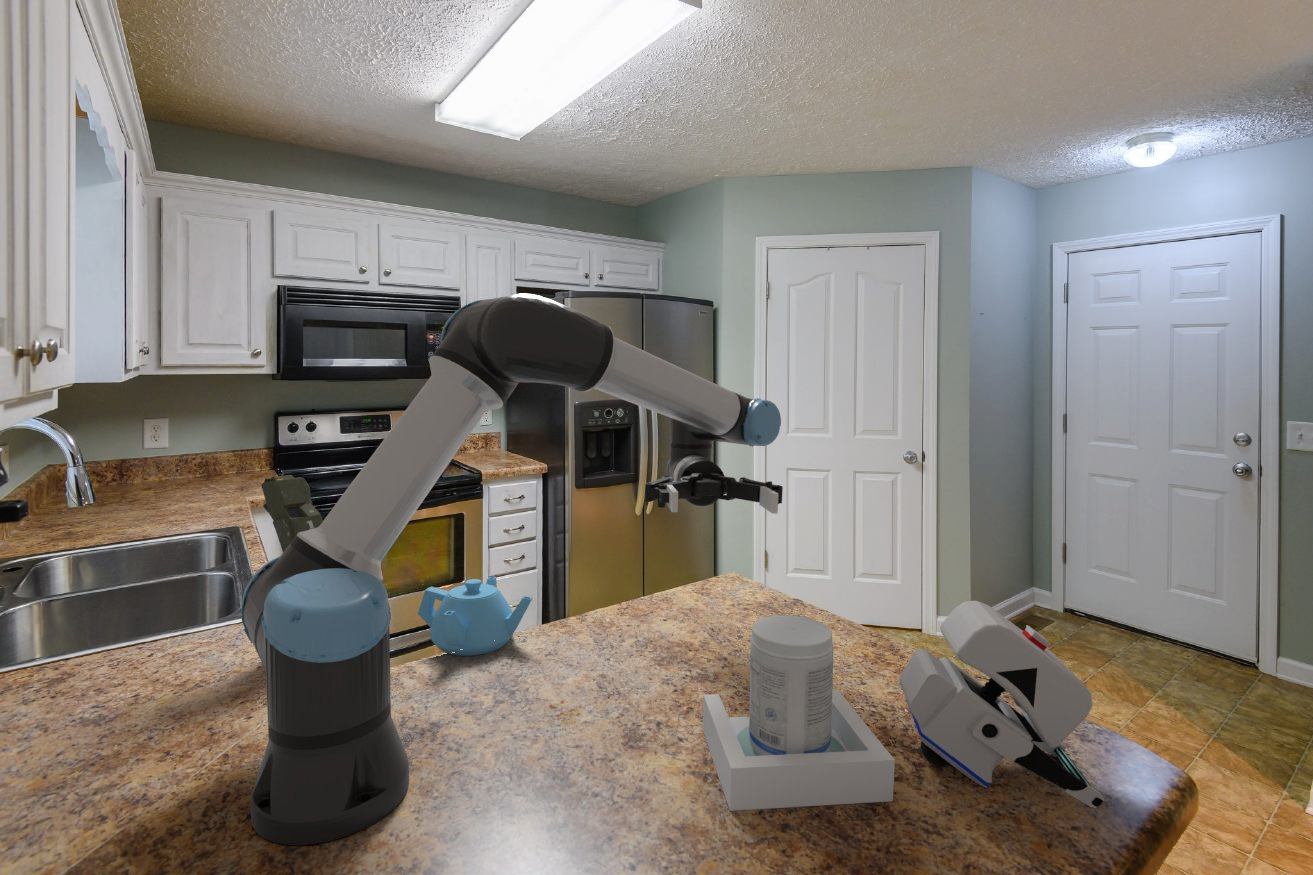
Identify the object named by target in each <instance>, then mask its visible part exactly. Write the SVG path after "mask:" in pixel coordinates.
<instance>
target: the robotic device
mask: <svg viewBox="0 0 1313 875" xmlns="http://www.w3.org/2000/svg"><path fill="white" fill-rule="evenodd" d="M939 630H940V633H941V634H942V637H943V638H944V640H945V641H946V642H947V644H948V646H949V647H950V648H951V651H952V652H953V654H954V655H955V657H956V658H957V659H958V660H959V661H960V662H962V663H963V664H964V665H967V666H969V667H971V668H974V669H976V670H977V671H979V672H981V673H982V674H984V675H986V676H987V677H989V679H988V681H986V682H985V683H984V685H983V684H982V683H981V682H979V681H978V680H977V679H976V678H974V677H973V676H972V675H970V674H969V673H967V671H965V670H963V669H962V668H961V667H959V666H958V665H957V664H955V662H953V661H951V660H950V659H949V658H948V657H946V656H943V657H941V658H940V659H939V658H938V657H936V656H935V655H933V654H932V653H931V652H929V651H928V650H927V649H924V648H918V649H916V650H915V651H914V652H913V654H912V655H911V657H910V659H909V660H908V662H907V664H906V665H905V667H904V668H903V670H902V671H901V674H900V676H899V678H898V679H899V685H900V687H901V689H902V690H901V691H902V693H903V695H904V698H905V701H906V703H907V704H906V705H907V707H908V711H909V712H910V715H911V718H912V720H913V723H914V725H915V728H916V730H917V733H918V736H919V738H920V740H921V741H920V751H921V753H922V755H923V757H924V759H925V760H926V761H927V762H929V763H930V764H931V765H933V766H935V767H946V766H951V765H952V766H953V767H954V768H955V769H956V770H958V771H959V772H960V773H962V774H963V775H965V776H966V777H967V778H968V779H970V780H971V781H973V782H974V783H976V784H978V785H979V786H981V787H984V788H988V787H989V786H990V785H991V784H992V782H993V778H992V776H993V771H994V769H995V768H996V767H997V766H998V765H999V764H1000V763H1001V762H1002V761H1003V759H1004V758H1005V759H1007V760H1008V761H1010V762H1011V763H1015V764H1017V765H1019V766H1020V767H1023V768H1025V769H1026V770H1028V771H1030V772H1032V773H1033V774H1035V775H1037V776H1038V777H1041V778H1043V779H1045V781H1048V782H1050V783H1052V784H1054V785H1056V786H1058V787H1060V788H1061V789H1063V791H1064V792H1065V793H1066V794H1068V795H1070V796H1072V797H1073V798H1075V799H1077V800H1078V801H1079V802H1081V803H1083V804H1085V805H1087V806H1088V807H1090V808H1093V809H1094V808H1095V809H1098V807H1100V806H1101V805H1102V804H1103V802H1105V798H1104V796H1103V794H1101V792H1100V791H1099V790H1097V789H1096V788H1094V787H1093V786H1092V785H1091V784H1090V783H1089V781H1088V780H1087V779H1086V777H1085V776H1084V775H1083V773H1082V772H1081V771H1080V769H1079V768H1078V766H1076V765H1075V763H1074V762H1073V760H1072V759H1071V758H1070V756H1069V755H1068V754H1067V753H1066V747H1065V746H1064V744H1063V742H1064V741H1065V740H1066V739H1067V738H1068V737H1069V735H1071V733H1073V731H1074V730H1075V729H1076V728H1077V727H1078V726H1080V724H1081V723H1082V722H1084V720H1085V719H1086V718H1087V717H1088V715H1089V714H1090V711H1091V709H1092V708H1093V699H1092V693H1091V691H1090V690H1089V689H1088V687H1087V686H1086V685H1085V683H1084V682H1083V681H1082V680H1080V679H1079V677H1078V676H1076V675H1075V673H1074V672H1073V671H1072V670H1071V669H1070V668H1069V667H1067V666H1066V664H1065V663H1064V662H1063V661H1061V659H1060V658H1059V657H1058V656H1057V655H1056V654H1054V653H1053V652H1052V651H1051V650H1049V649H1048V647H1049V646H1050V647H1051V646H1052V644H1051V643H1050V641H1049V640H1048V639H1046V638H1045V637H1044V636H1043V635H1042V634H1041V633H1039V632H1038V631H1037V630H1035V629H1034V628H1033V627H1031V626H1030V625H1028V624H1027V625H1025V629H1024V630H1023V629H1021V628H1020V627H1018V626H1017V625H1016V624H1015V623H1013V622H1011V621H1010V620H1009V619H1007V618H1006V617H1005V616H1004V615H1002V614H1000V613H999V612H998V611H997V610H995V609H994V608H992V607H991V606H990V605H988V604H986V603H983V602H981V601H979V600H969V601H968V600H967V601H963V602H962V603H960V604H959V605H957V606H956V607H955V608H954V609H953V610H952V611H951V612H950V613H949V614H948V615H947V617H946V618H945V619H944V620H943V621H942V623H941V624H940V626H939ZM1005 691H1007V693H1009V694H1010V695H1011V697H1012V698H1013V701H1014V702H1015V705H1016V707H1017V708H1018V709H1019V711H1020V712H1018V710H1016V709H1015V708H1013V707H1012V706H1011V705H1010V704H1009V703H1008V702H1006V701H1005V700H1004V699H1003V698H1001V695H1002V693H1004V692H1005ZM1047 753H1048V754H1047ZM1049 754H1050V755H1051V756H1053V757H1054V758H1055V757H1056V758H1057V759H1058V760H1059V762H1060V763H1061V764H1062V765H1061V764H1060V763H1058V762H1057V761H1056V760H1055V759H1054V758H1052V757H1051V756H1050V755H1049Z"/></svg>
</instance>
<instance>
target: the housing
mask: <svg viewBox="0 0 1313 875" xmlns="http://www.w3.org/2000/svg"><path fill="white" fill-rule="evenodd" d="M702 696H703V698H702V699H703V700H702V702H703V703H702V731H703V735H704V738H705V741H706V744H707V746H708V750H709V754H710V756H711V759H712V761H713V762H712V763H713V765H714V767H715V770H716V773H717V776H718V778H719V782H720V785H721V788H722V791H723V794H724V797H725V799H726V804H727V806H728V809H729V811H731V812H733V811H746V810H747V811H749V810H750V811H751V810H763V809H764V810H765V809H766V810H767V809H769V810H770V809H780V808H781V809H782V808H783V809H785V808H798V807H799V808H801V807H814V806H815V807H818V806H819V807H820V806H834V805H835V806H836V805H848V804H849V805H850V804H851V805H852V804H866V803H867V804H868V803H870V804H871V803H887V802H894V801H893V800H894V786H895V785H894V783H895V782H894V781H895V762H896V759H895V758H894V757H893V756H892V755H891V753H890V752H889V751H888V750H887V749H886V747H885V746H884V745H883V743H881V741H880V740H879V738H878V737H877V736H876V735H875V734H874V732H873V731H871V729H870V727H868V725H867V724H866V723H865V721H863V719H862V718H861V717H860V715H859V714H858V713H857V712H856V711H855V709H854V708H853V707H852V706H851V704H850V703H849V702H848V701H847V699H846V698H845V697H844V696H843V695H842V694H841V692H840V691H839V690H838V689H832V723H831V748H830V752H826V753H805V754H785V755H765V756H759V755H758V754H757V753H756V752H755V751H754V750H753V748H752V746H751V744H750V740H749V716H730V717H729V715H728V713H727V711H726V708H725V706H724V704H723V701H722V699H721V697H720V694H719V693H717V694H703V695H702Z"/></svg>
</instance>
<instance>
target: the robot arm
mask: <svg viewBox="0 0 1313 875" xmlns="http://www.w3.org/2000/svg"><path fill="white" fill-rule="evenodd" d="M439 342H440V344H439V345H438V347H437V348H436V350H435V351H434V352H433V354H431V356H430V357H429V359H428V361H429V368H430V372H431V374H430V375H431V376H429V378H428V380H427V381H425V382H426V383H425V384H424V385H423V386H422V388H421V389H420V390H419V392H418V393H417V395H416V396H415V397H414V398H413V400H412V401H411V402H410V403H409V405H408V406H407V408H406V409H405V410H404V412H403V413H402V415H401V416H400V417H399V418H398V420H397V421H396V423H395V424H394V425H393V427H392V428H391V429H390V430H389V432H388V433H387V434H386V436H385V438H384V439H383V440H382V442H380V444H379V446H378V447H377V448H376V449H375V451H374V452H373V453H372V455H370V457H369V459H368V460H367V462H365V464H364V466H363V467H362V469H361V470H360V471H359V473H358V474H357V475H356V476H355V478H354V479H353V480H352V482H351V483H350V484H349V486H348V487H347V488H346V490H345V491H344V493H343V494H342V495H341V496H340V498H339V499H338V500H337V502H336V503H335V504H334V506H333V507H332V509H331V510H330V511H329V513H328V514H327V515H326V517H325V518H324V520H323V522H322V523H321V525H320V526H319V527H317V528H315V529H311V530H307V531H302V532H299V533H298V534H297V535H296V536H295V538H294V539H293V540H292V542H291V543H290V544H289V546H288V547H287V548H286V550H285V551H284V552H283V551H282V553H281V554H280V555H279V556H278V557H275V558H273V559H271V560H269V561H268V562H266V563H265V564H263V565H262V566H261V567H260V568H259V569H258V570H257V571H255V574H253V575H252V577H251V578H250V580H249V581H248V582H247V585H246V587H245V590H244V592H243V596H242V600H241V613H240V614H241V623H242V626H243V628H244V629H243V630H244V632H245V634H246V636H247V638H248V640H249V641H250V643H251V644H253V647H254V649H255V651H256V653H257V655H258V657H259V660H260V662H261V663H262V666H263V668H264V673H265V682H266V685H265V686H266V706H267V711H266V712H267V729H268V731H267V732H268V740H267V744H266V748H265V751H264V754H263V757H262V760H261V763H260V766H259V770H258V771H257V772H258V773H257V776H256V778H255V782H254V783H253V784H254V785H253V787H252V791H251V795H250V818H251V820H250V821H251V825H252V828H253V830H254V831H255V832H256V834H257V835H259V836H260V837H262V838H263V839H264V840H267V841H269V842H272V843H276V844H279V845H280V844H281V845H287V846H288V845H289V846H290V845H291V846H305V845H307V846H308V845H314V844H320V843H321V844H322V843H325V842H330V841H334V840H338V839H340V838H344V837H347V836H349V835H352V834H355V833H357V832H360V831H362V830H364V829H366V828H368V827H369V826H372V825H373V824H375V823H377V822H378V821H379V820H381V819H383V818H384V817H385V816H387V815H388V814H390V813H391V812H392V811H393V810H394V809H395V808H396V807H397V806H398V805H399V804H400V803H401V801H402V800H403V798H404V797H405V795H406V793H407V791H408V789H409V786H410V763H409V757H408V754H407V752H406V748H405V746H404V745H403V742H402V740H401V737H400V734H399V732H398V730H397V727H396V725H395V721H394V720H393V717H392V706H391V705H392V702H391V698H392V697H391V652H390V649H391V644H390V643H391V642H390V624H391V620H392V612H391V605H390V602H389V597H388V596H389V595H388V591H387V588H386V586H385V585H384V583H383V580H384V577H383V573H382V566H381V565H382V561H383V559H384V557H385V556H386V555H387V553H388V552H389V551H390V549H391V547H392V546H393V544H394V543H395V541H396V540H397V539H398V537H399V536H400V534H401V533H402V532H403V530H404V528H406V526H407V525H408V524H409V522H410V520H411V519H412V517H413V516H414V515H415V513H416V512H417V511H418V509H419V507H420V506H421V504H422V503H423V501H424V500H425V498H426V497H427V496H428V495H429V494H430V491H431V490H432V489H433V487H434V486H435V484H436V483H437V481H438V480H439V478H440V477H441V476H442V474H443V472H445V470H446V469H447V467H448V466H449V465H450V463H451V461H452V460H453V458H454V457H455V456H456V455H457V453H458V451H459V450H460V449H461V447H462V446H463V444H464V443H465V441H466V440H467V439H468V437H469V435H470V434H471V432H473V430H474V428H475V427H476V425H477V424H478V423H479V421H480V420H481V418H483V415H484V414H485V413H486V412H488V411H493V410H499V409H502V407H503V406H504V405H505V403H506V402H507V400H508V399H509V398H510V396H511V395H512V393H513V392H514V390H515V389H516V387H517V386H518V384H519V383H522V384H523V383H524V384H526V383H539V384H549V385H556V386H557V385H558V386H563V387H567V388H569V389H573V390H575V391H578V392H581V393H587V392H590V391H592V390H596V391H600V392H602V393H604V394H608V395H610V396H612V397H615V398H618V399H620V400H623V401H626V402H628V403H631V404H633V405H636V406H639V407H641V408H644V409H646V410H649V411H652V412H655V413H657V414H659V415H663V416H665V417H668V418H670V446H669V459H668V462H667V463H666V464H667V465H666V475H662V476H661V478H658V479H655V480H652V481H649V482H646V483H645V486H644V501H645V502H648V503H651V502H654V501H656V500H657V507H658V508H660V509H661V508H666V506H667V507H668V508H669V510H670V512H671V513H678V512H679V511H678V509H679V507H678V506H679V500H681V499H682V500H686V501H687V502H688V503H690V504H691V505H693V506H696V507H707V506H710V505H714V503H716V502H717V501H718V500H724V501H732V500H735V499H736V500H743V501H747V502H748V501H749V502H755V503H759V506H761V507H762V508H763V509H765V510H767V511H768V512H770V514H776V515H777V514H778V512H779V505H780V504H782V503H783V489H784V487H783V486H782V485H780V484H773V481H771V480H770V481H765V482H763V481H759V480H753V479H749V478H747V477H744V476H743V477H740V478H739V479H738V480H736V478H735V477H731V476H725V474H724V472H723V470H722V469H721V467H720V466H719V465H718V464H716V463H715V462H713V460H712V449H713V442H721V443H729V444H737V445H744V446H745V445H746V446H749V447H755V446H756V447H759V446H760V447H765V446H768V445H770V444H773V442H774V441H775V440H776V439H777V438H778V436H779V434H780V430H781V425H782V417H781V413H780V410H779V408H778V407H777V405H776V404H775V403H774V402H773V401H771V400H767V399H761V398H759V397H757V398H750V397H749V398H748V397H745V396H744V395H742V394H739V393H736V392H735V391H732V390H730V389H728V388H725V387H723V386H721V385H719V384H716V383H714V382H712V381H711V380H709V379H705V378H703V377H702V376H700V375H697V374H695V373H693V372H691V371H689V370H687V369H685V368H682V367H680V366H677V365H676V364H673V363H671V362H669V361H667V360H665V359H663V358H660V357H658V356H656V355H654V354H652V353H650V352H647V351H646V350H643V349H641V348H640V347H636V346H634V345H632V344H630V343H628V342H626V341H624V340H621V339H620V338H617V337H616V336H615V333H614V331H613V329H612V328H611V327H610V326H609V325H607V324H605V323H604V322H602V321H599V320H597V319H595V318H592V317H591V316H588V315H586V314H584V313H583V312H580V311H578V310H576V309H573V308H571V307H570V306H567V305H565V304H562V303H560V302H558V301H556V300H554V299H551V298H548V297H543V296H542V295H539V294H538V295H537V294H532V293H525V292H524V293H516V294H515V293H514V294H510V295H506V296H500V297H495V298H489V299H487V298H486V299H479V300H475V301H472V302H470V303H468V304H465V305H463V306H462V307H460V308H459V309H457V310H456V311H455V312H454V313H452V314H451V315H450V317H449V318H448V319H447V320H446V322H445V324H444V325H443V328H442V330H441V334H440V339H439Z"/></svg>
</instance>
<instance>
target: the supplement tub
mask: <svg viewBox="0 0 1313 875" xmlns="http://www.w3.org/2000/svg"><path fill="white" fill-rule="evenodd" d="M749 651H750V653H749V655H750V657H749V658H750V660H749V669H750V670H749V713H748V714H749V716H748V717H749V740H750V744H751V746H752V748H753V750H754V751H755V752H756V753H757V754H758V755H759V756H765V755H785V754H805V753H826V752H830V748H831V723H832V690H833V684H834V682H833V681H834V680H833V679H834V678H833V677H834V643H833V632H832V630H831V629H830V627H829V626H827V625H825V624H824V623H822V622H821V621H818V620H817V619H812V618H809V617H803V616H801V615H800V616H798V615H790V614H789V615H788V614H787V615H783V614H782V615H781V614H780V615H772V616H766V617H763V618H759V619H757V621H755V622H754V623H753V624H752V628H751V636H750V650H749Z"/></svg>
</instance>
